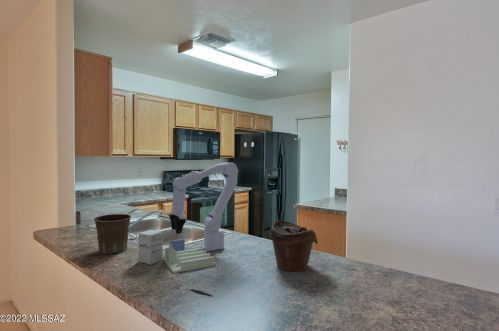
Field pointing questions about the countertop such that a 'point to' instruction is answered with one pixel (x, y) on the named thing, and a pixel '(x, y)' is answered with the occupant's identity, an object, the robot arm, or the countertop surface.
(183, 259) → the dish rack
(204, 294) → the fork
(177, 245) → the slate blue tile
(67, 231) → the countertop surface
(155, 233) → the supplement box
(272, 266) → the countertop surface
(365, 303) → the countertop surface
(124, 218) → the plant pot
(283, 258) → the brown covered basket
